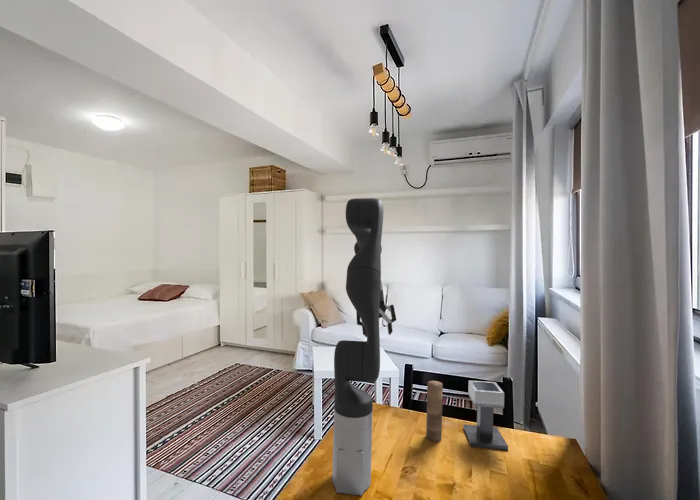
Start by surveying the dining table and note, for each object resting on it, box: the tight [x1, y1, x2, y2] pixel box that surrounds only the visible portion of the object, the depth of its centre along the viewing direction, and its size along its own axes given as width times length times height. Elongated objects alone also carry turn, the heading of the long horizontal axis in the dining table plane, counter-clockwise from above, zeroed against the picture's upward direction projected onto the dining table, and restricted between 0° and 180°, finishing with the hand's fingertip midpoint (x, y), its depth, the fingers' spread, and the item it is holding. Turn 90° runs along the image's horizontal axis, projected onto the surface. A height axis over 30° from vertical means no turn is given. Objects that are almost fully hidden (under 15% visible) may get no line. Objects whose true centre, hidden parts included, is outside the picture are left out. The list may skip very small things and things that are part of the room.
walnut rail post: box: [425, 380, 444, 443], centre depth 98 cm, size 4×4×16 cm
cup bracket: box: [462, 380, 509, 451], centre depth 98 cm, size 10×10×16 cm
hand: (378, 335), depth 118 cm, fingers open, 8 cm apart
